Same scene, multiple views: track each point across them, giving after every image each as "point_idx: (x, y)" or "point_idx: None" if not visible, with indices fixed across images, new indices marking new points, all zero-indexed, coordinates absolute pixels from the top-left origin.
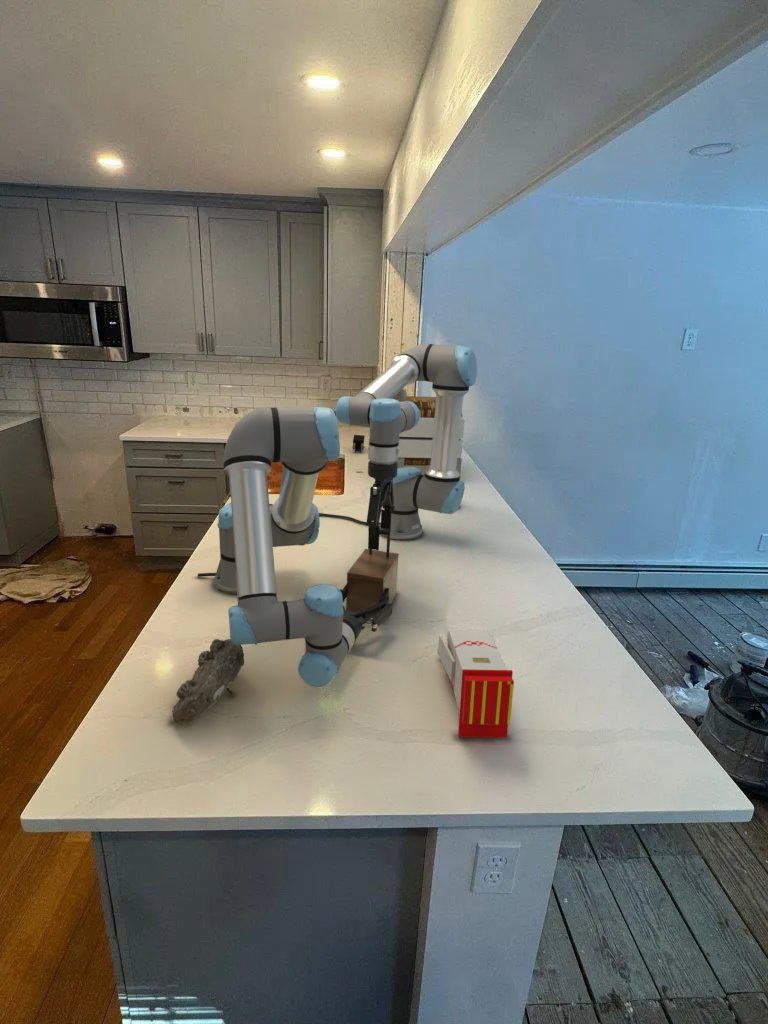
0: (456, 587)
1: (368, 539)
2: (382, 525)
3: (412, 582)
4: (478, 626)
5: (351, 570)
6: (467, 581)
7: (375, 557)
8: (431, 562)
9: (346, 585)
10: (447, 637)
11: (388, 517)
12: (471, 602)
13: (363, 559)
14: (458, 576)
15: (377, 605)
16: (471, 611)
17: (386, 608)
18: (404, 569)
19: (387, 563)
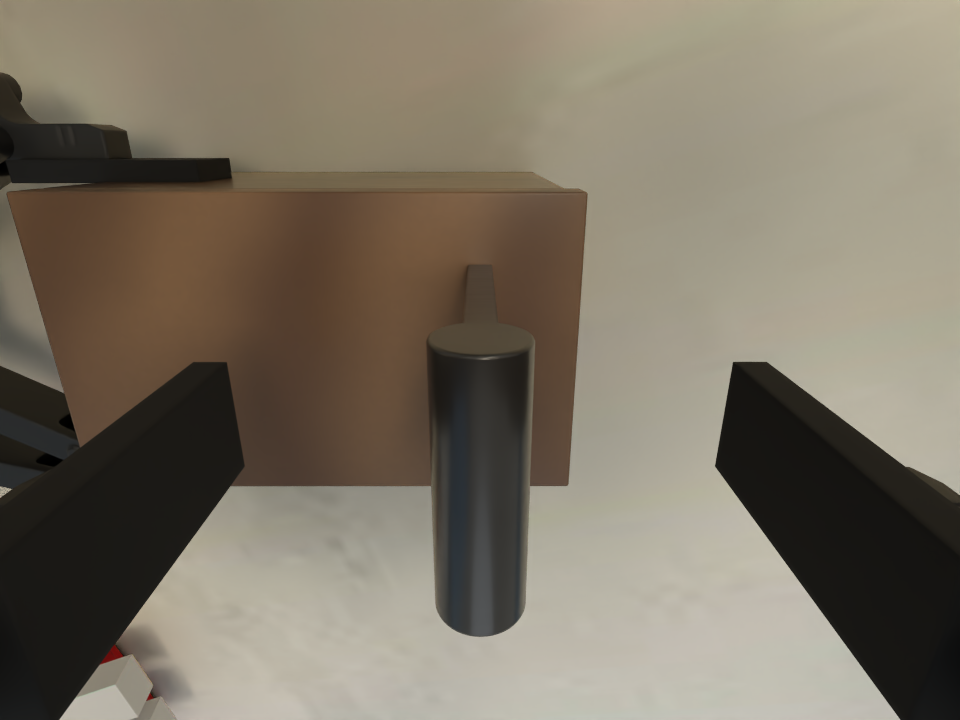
0: (671, 586)
1: (125, 416)
2: (774, 426)
3: (677, 405)
4: (374, 681)
5: (66, 217)
6: (742, 617)
7: (421, 337)
8: (944, 448)
9: (133, 168)
10: (127, 661)
11: (835, 589)
12: (550, 647)
13: (336, 249)
14: (788, 580)
15: (19, 430)
16: (476, 653)
17: (19, 481)
18: (833, 333)
19: (348, 452)
